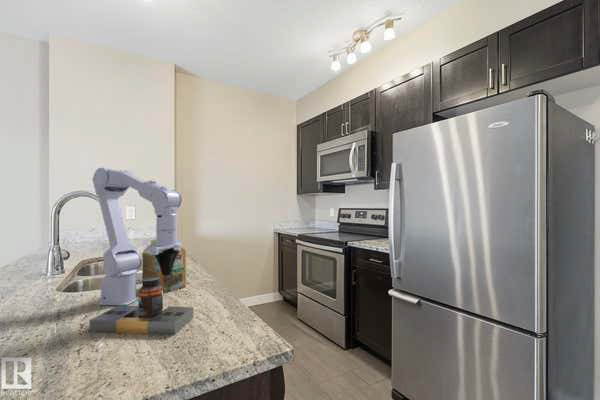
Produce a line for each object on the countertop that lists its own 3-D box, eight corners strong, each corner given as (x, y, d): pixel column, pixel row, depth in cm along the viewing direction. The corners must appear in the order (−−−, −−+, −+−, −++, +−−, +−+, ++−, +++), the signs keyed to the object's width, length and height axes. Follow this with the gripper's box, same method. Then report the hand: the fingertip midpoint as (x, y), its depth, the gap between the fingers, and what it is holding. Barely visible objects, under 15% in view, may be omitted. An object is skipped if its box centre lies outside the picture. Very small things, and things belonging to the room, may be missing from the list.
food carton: (168, 283, 114) (168, 236, 114) (185, 287, 108) (185, 237, 109) (142, 290, 104) (142, 239, 105) (159, 295, 99) (160, 240, 99)
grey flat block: (89, 332, 70) (89, 319, 70) (117, 316, 80) (117, 305, 80) (175, 334, 69) (175, 321, 69) (193, 318, 79) (193, 306, 79)
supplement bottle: (167, 316, 80) (167, 276, 80) (155, 325, 74) (155, 281, 75) (147, 315, 81) (147, 275, 81) (133, 324, 75) (133, 281, 75)
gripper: (166, 232, 78) (166, 281, 78) (190, 227, 93) (190, 269, 93) (142, 232, 79) (142, 281, 79) (169, 227, 93) (169, 269, 93)
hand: (166, 274), depth 86 cm, fingers closed
